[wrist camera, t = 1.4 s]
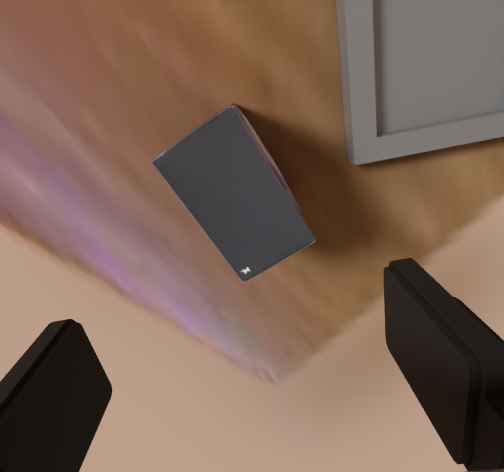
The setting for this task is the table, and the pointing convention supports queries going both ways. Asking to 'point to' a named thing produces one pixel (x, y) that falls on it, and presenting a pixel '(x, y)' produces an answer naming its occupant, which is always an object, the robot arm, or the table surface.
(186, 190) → the small box
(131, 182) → the table surface
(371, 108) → the tray
